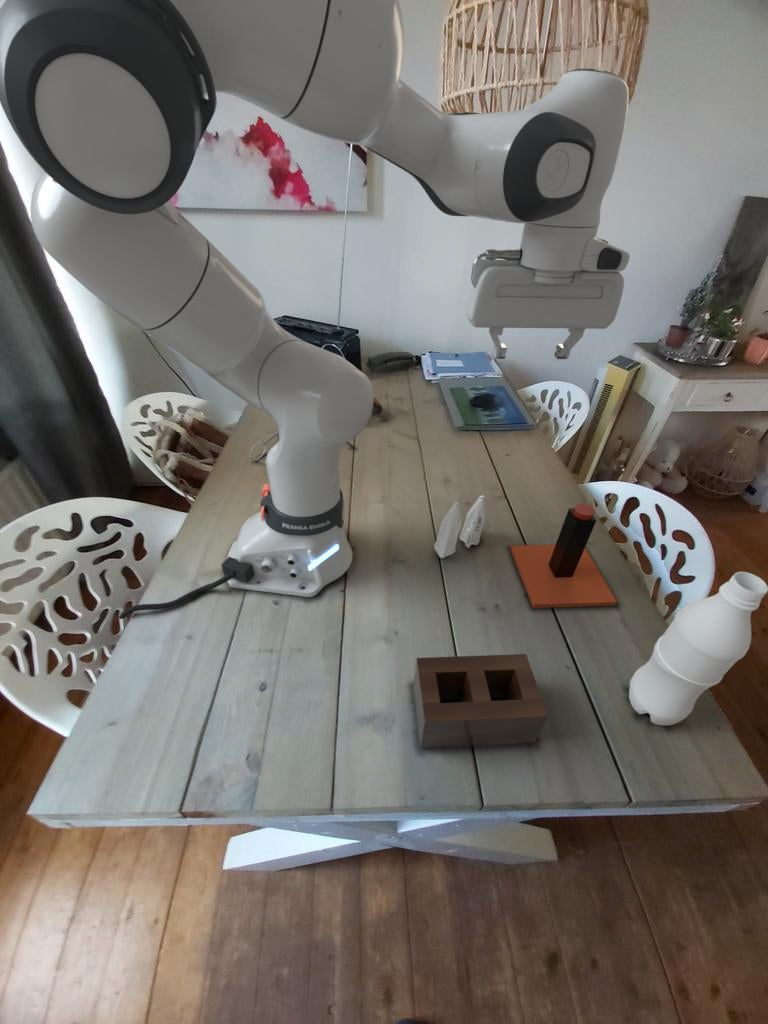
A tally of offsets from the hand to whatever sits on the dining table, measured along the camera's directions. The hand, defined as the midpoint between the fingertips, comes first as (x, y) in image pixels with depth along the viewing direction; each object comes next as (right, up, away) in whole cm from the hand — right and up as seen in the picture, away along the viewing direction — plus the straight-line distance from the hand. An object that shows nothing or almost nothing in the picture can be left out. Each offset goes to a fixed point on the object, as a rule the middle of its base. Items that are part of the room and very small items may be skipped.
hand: (529, 357), depth 65 cm
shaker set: (-8, -30, +19) cm, 36 cm away
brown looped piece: (-26, +4, +59) cm, 65 cm away
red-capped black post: (+10, -33, +13) cm, 37 cm away
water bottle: (+15, -49, -5) cm, 52 cm away
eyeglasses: (-41, -9, +43) cm, 60 cm away
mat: (+10, -34, +13) cm, 38 cm away
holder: (-10, -50, -6) cm, 51 cm away
